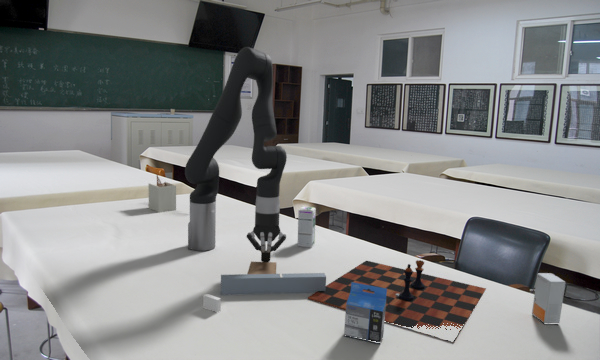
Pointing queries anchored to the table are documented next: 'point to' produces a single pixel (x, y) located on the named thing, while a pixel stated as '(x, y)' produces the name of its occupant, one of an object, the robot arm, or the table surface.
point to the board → (272, 283)
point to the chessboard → (407, 295)
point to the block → (262, 268)
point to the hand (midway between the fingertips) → (265, 262)
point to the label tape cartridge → (365, 312)
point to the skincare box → (548, 298)
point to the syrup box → (306, 226)
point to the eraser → (211, 302)
